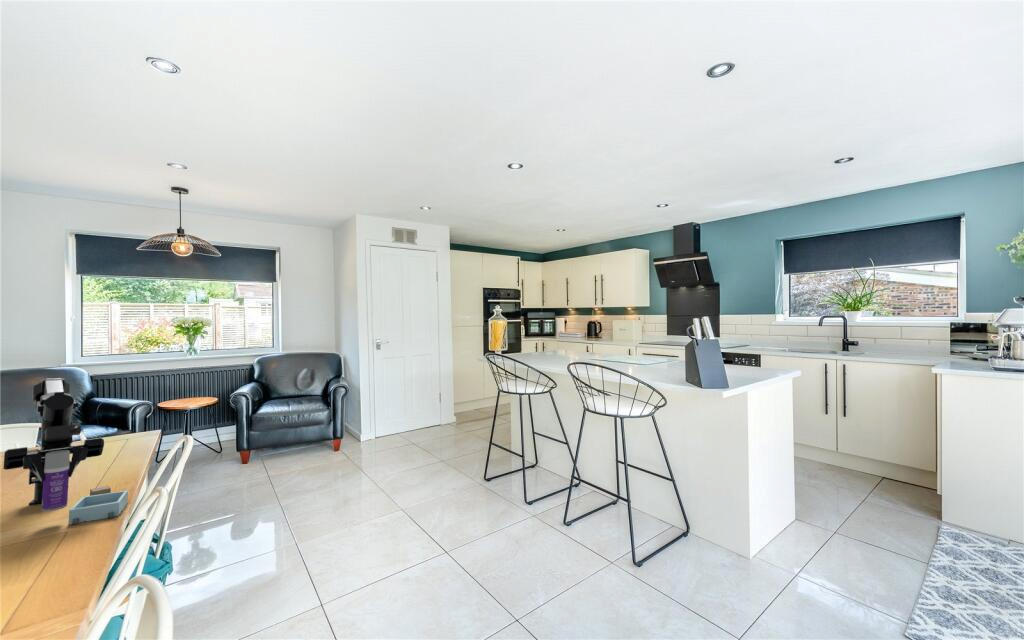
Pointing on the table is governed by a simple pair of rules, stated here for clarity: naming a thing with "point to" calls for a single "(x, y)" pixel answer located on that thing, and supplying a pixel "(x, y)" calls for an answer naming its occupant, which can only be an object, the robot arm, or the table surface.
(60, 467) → the container
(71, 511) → the cart
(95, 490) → the walnut block
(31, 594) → the table surface
